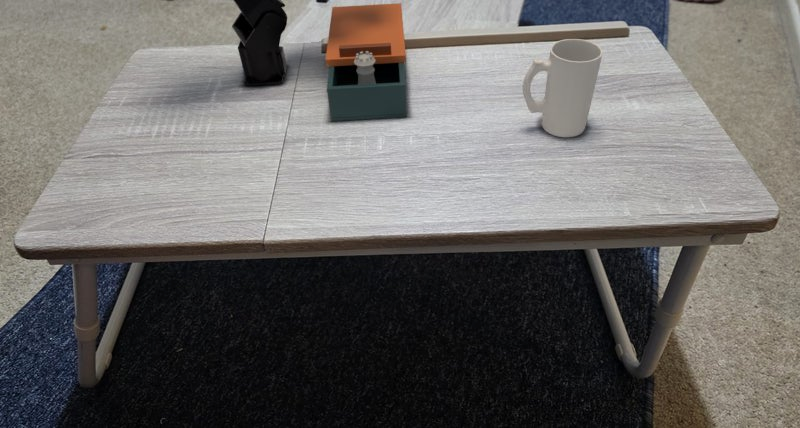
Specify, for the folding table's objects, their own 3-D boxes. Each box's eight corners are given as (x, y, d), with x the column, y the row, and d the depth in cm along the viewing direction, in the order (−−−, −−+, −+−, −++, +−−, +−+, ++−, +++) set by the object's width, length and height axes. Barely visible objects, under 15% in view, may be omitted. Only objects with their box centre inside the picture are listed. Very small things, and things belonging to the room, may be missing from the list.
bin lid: (405, 62, 90) (405, 46, 88) (326, 66, 90) (324, 50, 88) (401, 9, 105) (400, -6, 103) (333, 13, 105) (331, -2, 103)
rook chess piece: (379, 92, 93) (376, 46, 88) (385, 107, 90) (381, 59, 84) (352, 96, 92) (347, 50, 87) (356, 111, 89) (351, 64, 84)
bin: (406, 117, 88) (405, 84, 85) (331, 121, 88) (326, 89, 85) (402, 59, 102) (400, 29, 98) (336, 63, 102) (332, 33, 98)
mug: (579, 111, 87) (594, 37, 79) (592, 137, 82) (609, 60, 74) (513, 116, 87) (521, 41, 79) (522, 141, 82) (531, 65, 74)
